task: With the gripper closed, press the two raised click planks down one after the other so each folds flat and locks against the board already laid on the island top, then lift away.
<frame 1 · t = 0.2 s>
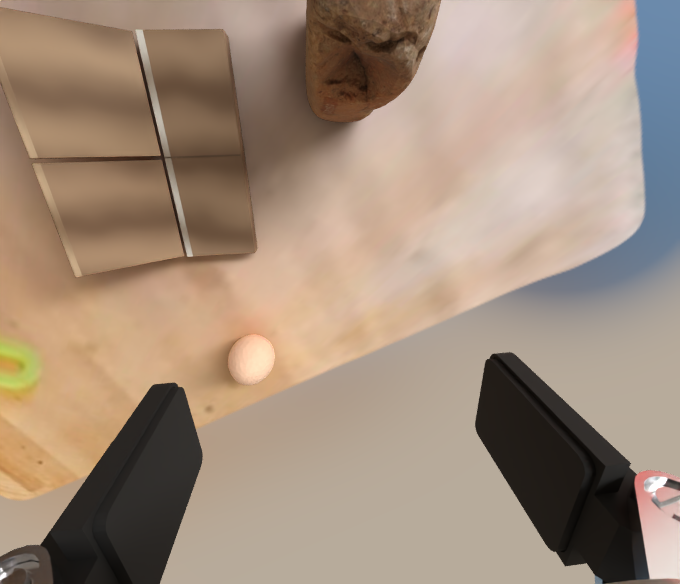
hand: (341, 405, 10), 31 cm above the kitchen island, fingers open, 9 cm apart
block: (341, 67, 32), on the kitchen island
plank b: (118, 215, 32), point 4 cm above the kitchen island, hinge at 35.0°
laid board: (208, 156, 34), on the kitchen island
egg: (256, 342, 44), on the kitchen island
plank a: (81, 94, 28), point 4 cm above the kitchen island, hinge at 35.0°
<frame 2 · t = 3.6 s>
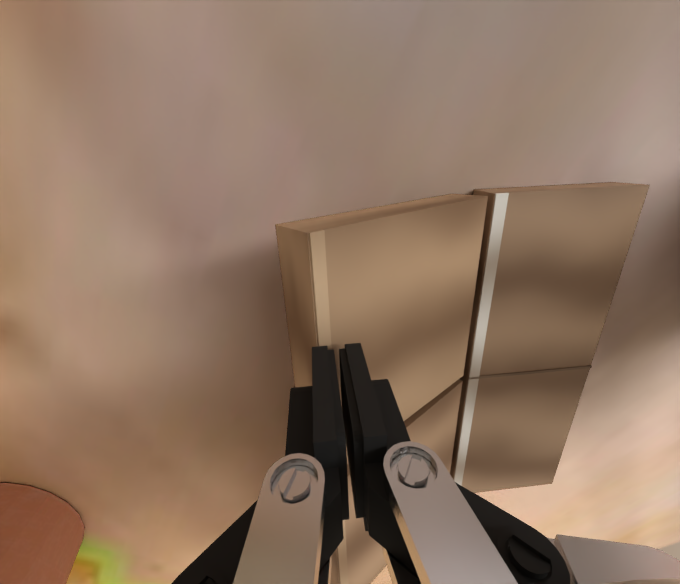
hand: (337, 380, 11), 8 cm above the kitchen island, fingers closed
plank b: (392, 481, 18), point 4 cm above the kitchen island, hinge at 35.0°
potted plant: (20, 519, 23), on the kitchen island
laid board: (510, 353, 21), on the kitchen island
plank a: (396, 321, 14), point 4 cm above the kitchen island, hinge at 33.8°, touching gripper
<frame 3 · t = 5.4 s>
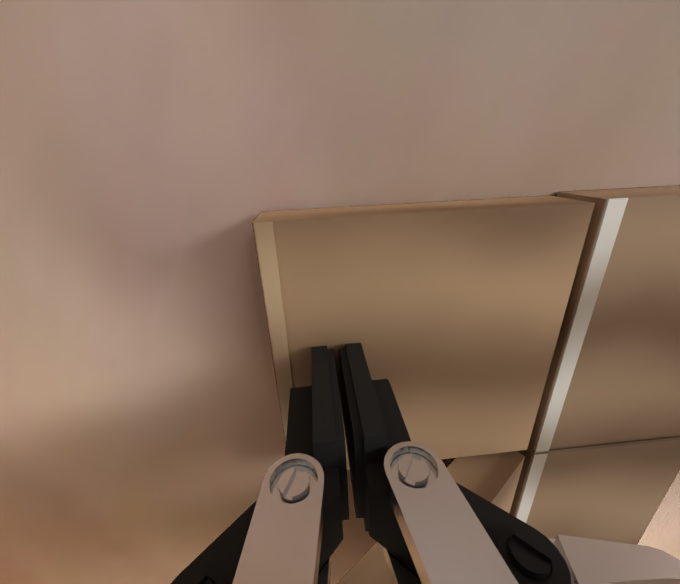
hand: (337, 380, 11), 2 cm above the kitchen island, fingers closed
laid board: (581, 409, 16), on the kitchen island
plank a: (411, 346, 12), point 1 cm above the kitchen island, hinge at 0.5°, touching gripper
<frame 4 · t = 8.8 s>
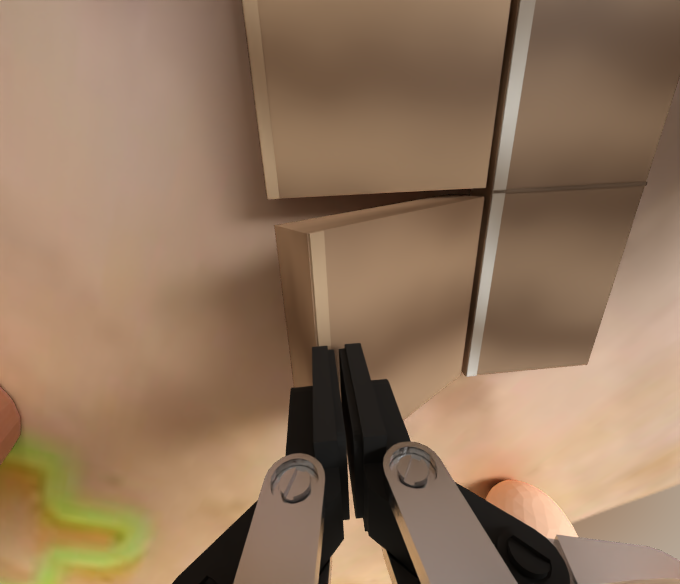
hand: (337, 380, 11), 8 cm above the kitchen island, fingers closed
plank b: (395, 322, 14), point 4 cm above the kitchen island, hinge at 34.5°, touching gripper
laid board: (541, 184, 17), on the kitchen island
egg: (500, 484, 26), on the kitchen island
plank a: (375, 62, 13), point 1 cm above the kitchen island, hinge at 0.0°
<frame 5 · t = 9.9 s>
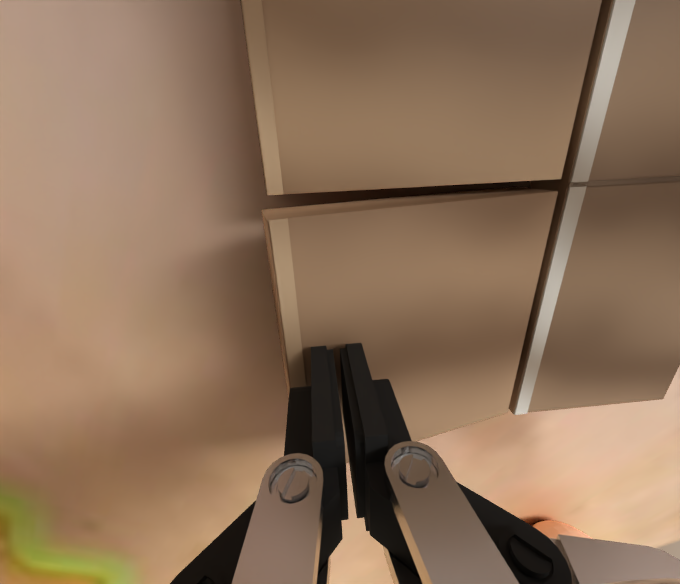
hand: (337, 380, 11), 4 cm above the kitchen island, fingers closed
plank b: (409, 331, 13), point 2 cm above the kitchen island, hinge at 12.4°, touching gripper
laid board: (621, 175, 13), on the kitchen island
egg: (537, 522, 23), on the kitchen island
plank a: (418, 2, 9), point 1 cm above the kitchen island, hinge at 0.0°
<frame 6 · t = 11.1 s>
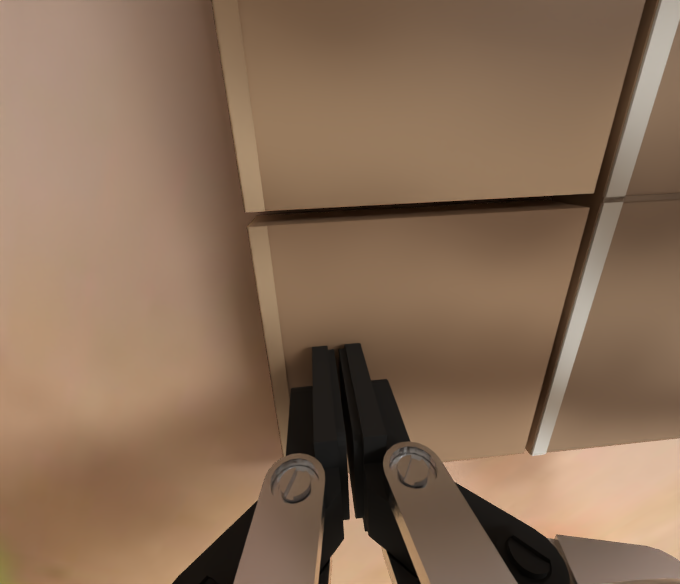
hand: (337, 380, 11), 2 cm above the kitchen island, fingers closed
plank b: (407, 349, 12), point 1 cm above the kitchen island, hinge at 0.0°, touching gripper
laid board: (655, 187, 11), on the kitchen island
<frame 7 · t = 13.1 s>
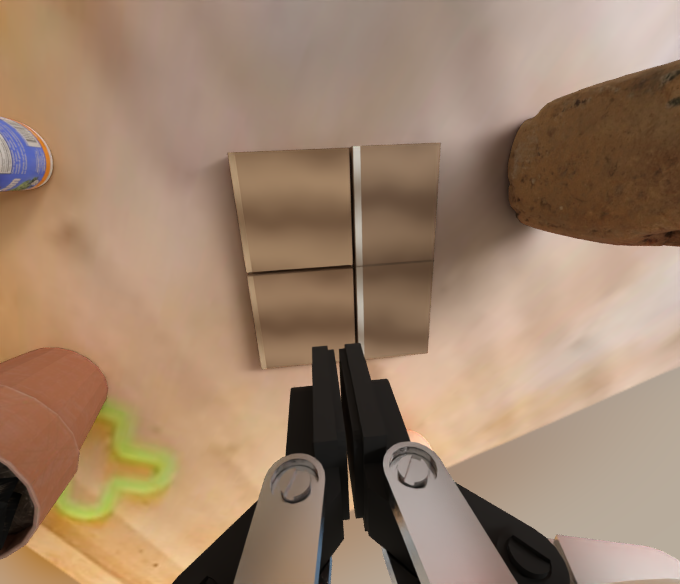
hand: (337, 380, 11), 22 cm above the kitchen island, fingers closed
block: (537, 168, 31), on the kitchen island
pill bottle: (21, 155, 26), on the kitchen island
plank b: (305, 317, 32), point 1 cm above the kitchen island, hinge at 0.0°
potted plant: (63, 382, 33), on the kitchen island
laid board: (389, 258, 32), on the kitchen island
plank a: (295, 212, 29), point 1 cm above the kitchen island, hinge at 0.0°
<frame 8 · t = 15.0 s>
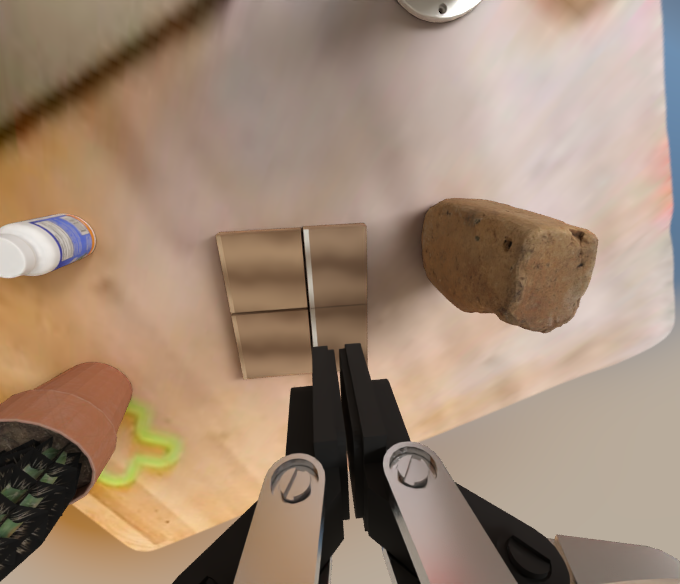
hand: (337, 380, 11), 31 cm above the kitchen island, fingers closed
block: (445, 236, 42), on the kitchen island
pill bottle: (74, 235, 38), on the kitchen island
plank b: (275, 342, 44), point 1 cm above the kitchen island, hinge at 0.0°
potted plant: (100, 386, 46), on the kitchen island
laid board: (337, 300, 44), on the kitchen island
plank a: (265, 271, 40), point 1 cm above the kitchen island, hinge at 0.0°
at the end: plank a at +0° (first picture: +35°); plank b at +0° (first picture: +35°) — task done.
